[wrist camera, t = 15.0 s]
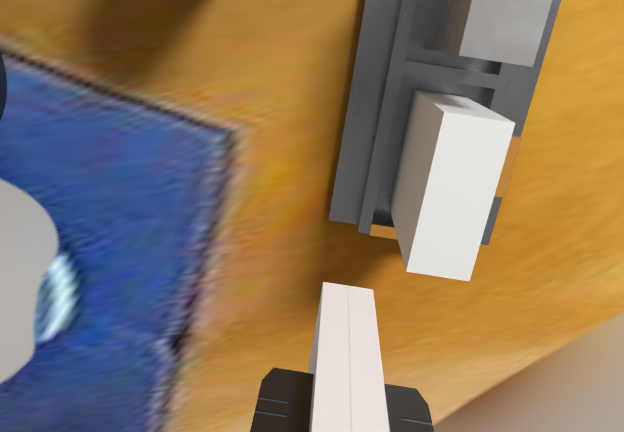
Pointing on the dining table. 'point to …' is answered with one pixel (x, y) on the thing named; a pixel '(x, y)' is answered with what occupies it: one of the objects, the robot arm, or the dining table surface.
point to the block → (447, 182)
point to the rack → (432, 88)
